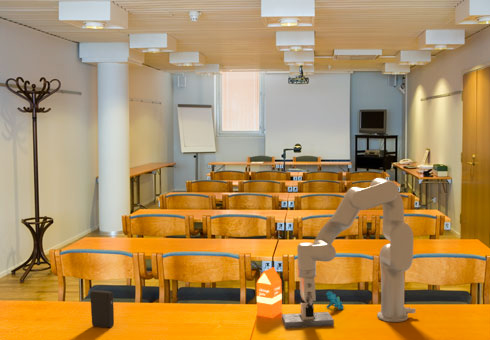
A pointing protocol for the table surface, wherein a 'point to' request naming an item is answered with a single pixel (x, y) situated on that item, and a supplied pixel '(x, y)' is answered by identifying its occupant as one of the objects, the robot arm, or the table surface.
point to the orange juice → (269, 294)
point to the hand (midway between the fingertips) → (307, 312)
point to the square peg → (304, 312)
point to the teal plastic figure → (334, 300)
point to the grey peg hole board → (318, 320)
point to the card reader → (102, 308)
